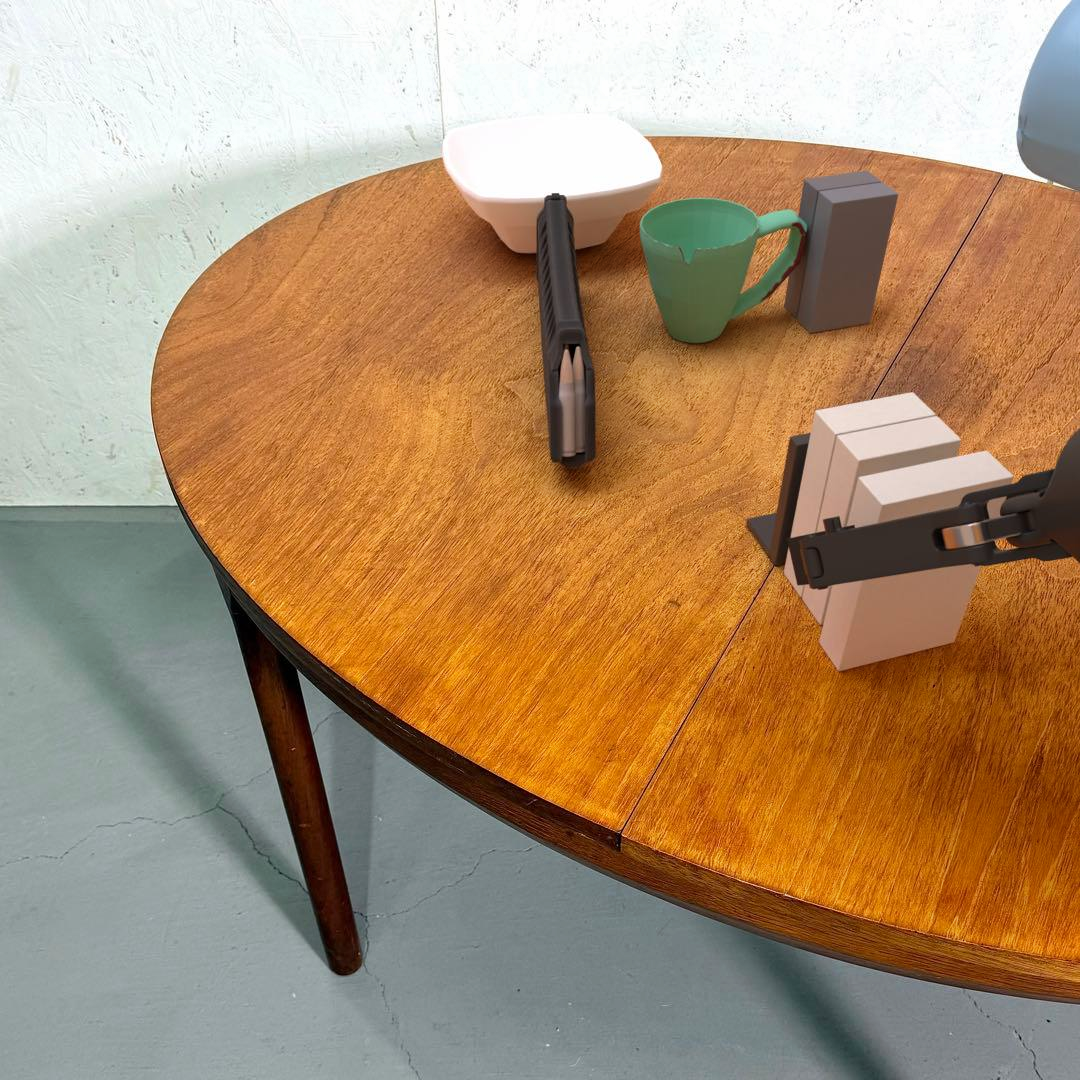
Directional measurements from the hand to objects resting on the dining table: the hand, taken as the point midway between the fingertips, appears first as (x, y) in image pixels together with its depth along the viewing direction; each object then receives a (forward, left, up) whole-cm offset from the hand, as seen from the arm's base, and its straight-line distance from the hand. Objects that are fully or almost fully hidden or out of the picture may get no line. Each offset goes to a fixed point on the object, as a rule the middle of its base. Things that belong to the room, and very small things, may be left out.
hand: (904, 537), depth 61 cm
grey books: (-16, -36, -8) cm, 40 cm away
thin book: (0, +1, -8) cm, 8 cm away
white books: (0, -6, -8) cm, 10 cm away
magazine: (+10, -33, -8) cm, 36 cm away
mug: (-6, -37, -8) cm, 39 cm away
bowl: (+3, -59, -8) cm, 60 cm away
